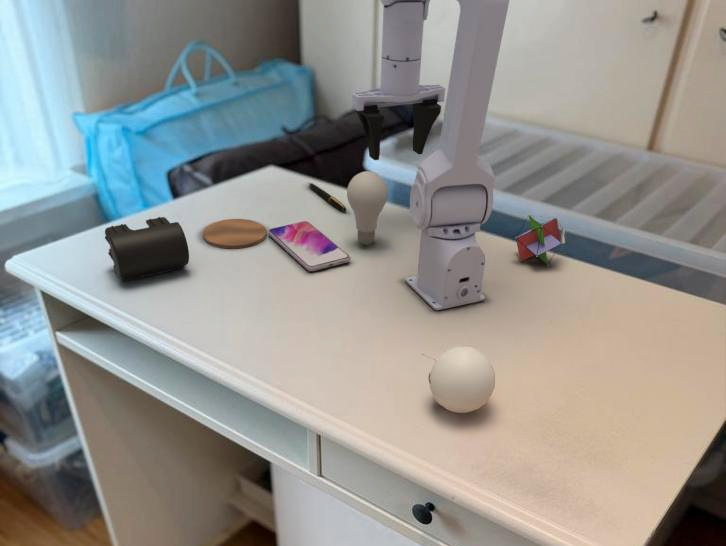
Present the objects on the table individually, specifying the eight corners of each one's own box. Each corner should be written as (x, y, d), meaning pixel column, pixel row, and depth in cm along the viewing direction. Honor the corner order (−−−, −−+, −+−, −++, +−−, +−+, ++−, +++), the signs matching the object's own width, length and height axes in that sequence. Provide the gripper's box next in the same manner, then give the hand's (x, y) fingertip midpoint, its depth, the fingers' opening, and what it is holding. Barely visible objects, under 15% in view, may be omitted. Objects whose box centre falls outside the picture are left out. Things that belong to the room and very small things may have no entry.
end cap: (124, 290, 100) (114, 244, 95) (109, 269, 104) (99, 224, 100) (192, 275, 104) (186, 229, 99) (176, 255, 108) (169, 211, 103)
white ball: (504, 413, 81) (515, 358, 76) (451, 434, 78) (459, 378, 73) (451, 370, 87) (458, 316, 82) (401, 387, 84) (405, 332, 79)
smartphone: (309, 268, 104) (266, 229, 114) (309, 273, 105) (266, 234, 114) (352, 257, 107) (307, 220, 116) (352, 262, 107) (307, 225, 117)
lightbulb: (368, 233, 116) (370, 162, 108) (393, 246, 112) (397, 174, 105) (338, 242, 113) (338, 170, 105) (363, 256, 109) (365, 183, 102)
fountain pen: (304, 186, 130) (303, 177, 129) (309, 185, 130) (309, 176, 129) (343, 215, 121) (343, 206, 120) (349, 213, 121) (349, 205, 120)
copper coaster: (275, 242, 112) (275, 239, 112) (212, 252, 109) (212, 249, 109) (255, 218, 119) (254, 215, 119) (195, 227, 116) (195, 224, 115)
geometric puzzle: (516, 260, 105) (554, 214, 102) (495, 241, 110) (531, 196, 106) (545, 283, 109) (582, 239, 106) (523, 263, 114) (559, 220, 111)
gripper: (432, 46, 108) (424, 141, 117) (344, 53, 104) (343, 152, 113) (455, 57, 104) (445, 155, 113) (364, 65, 99) (362, 167, 108)
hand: (396, 155), depth 113 cm, fingers open, 7 cm apart
